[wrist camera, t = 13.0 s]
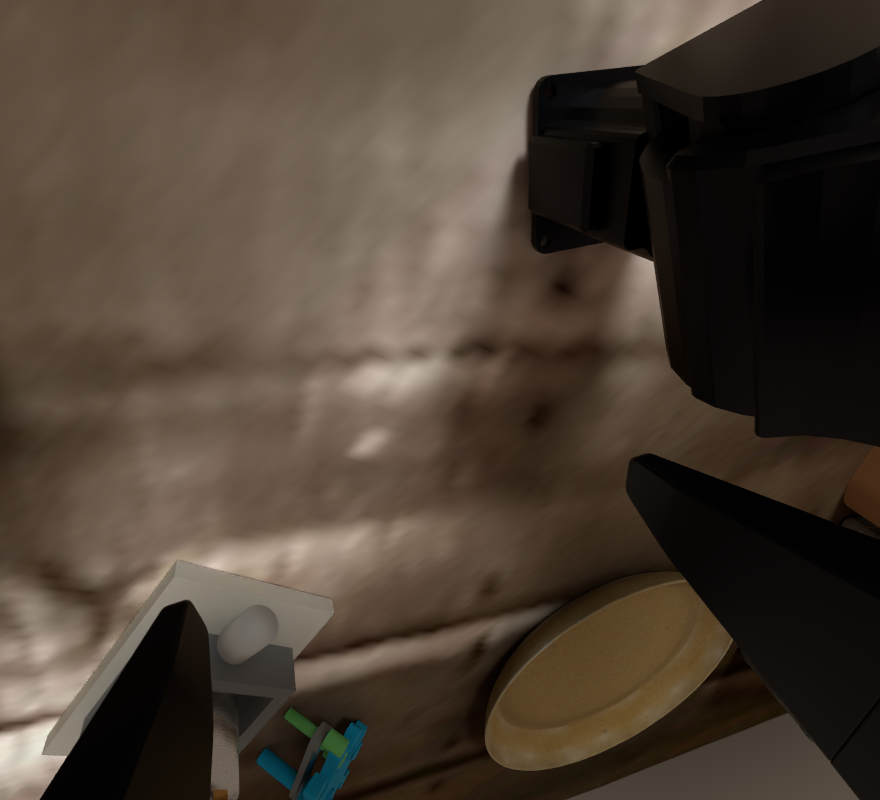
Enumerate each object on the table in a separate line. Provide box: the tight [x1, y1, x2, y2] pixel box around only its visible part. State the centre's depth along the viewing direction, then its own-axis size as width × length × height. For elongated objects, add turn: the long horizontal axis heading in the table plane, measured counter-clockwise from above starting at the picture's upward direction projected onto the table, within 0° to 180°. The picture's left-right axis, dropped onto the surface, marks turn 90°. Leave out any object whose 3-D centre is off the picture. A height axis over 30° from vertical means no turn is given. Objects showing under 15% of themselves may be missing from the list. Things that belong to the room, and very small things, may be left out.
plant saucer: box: [485, 571, 733, 771], centre depth 42 cm, size 24×24×3 cm
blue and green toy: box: [256, 708, 367, 800], centre depth 33 cm, size 11×6×10 cm
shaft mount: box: [42, 560, 334, 756], centre depth 26 cm, size 14×9×4 cm, turn 139°
